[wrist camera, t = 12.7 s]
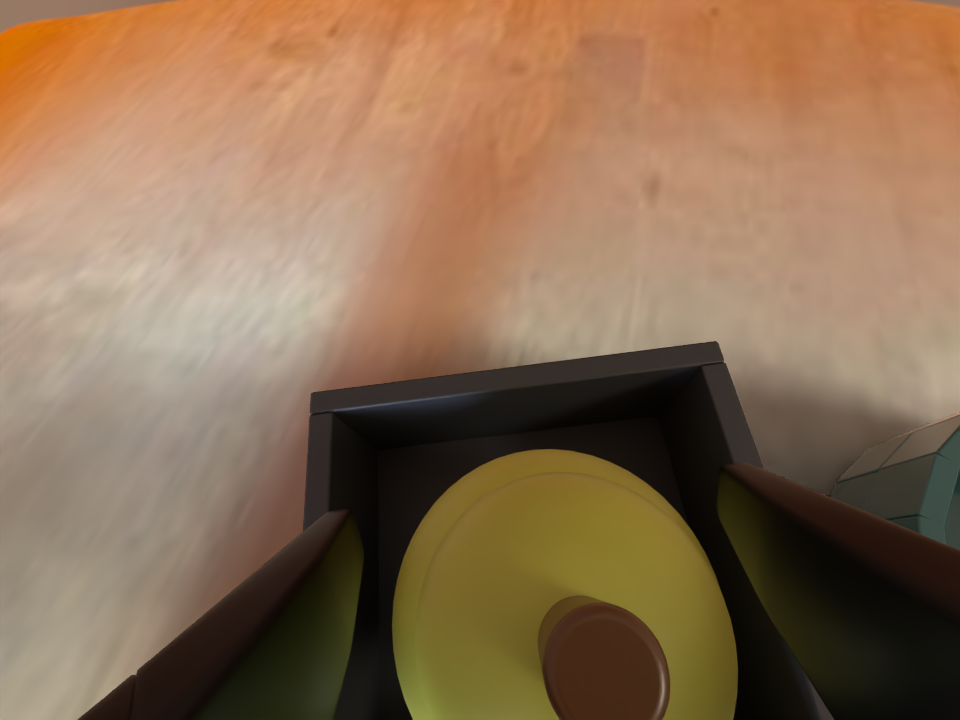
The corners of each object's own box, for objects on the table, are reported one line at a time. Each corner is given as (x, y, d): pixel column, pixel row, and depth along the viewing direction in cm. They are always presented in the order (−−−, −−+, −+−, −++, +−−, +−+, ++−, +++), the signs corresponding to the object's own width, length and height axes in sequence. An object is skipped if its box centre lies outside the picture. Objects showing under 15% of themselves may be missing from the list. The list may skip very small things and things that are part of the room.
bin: (780, 800, 11) (930, 931, 7) (364, 838, 12) (275, 984, 7) (666, 402, 16) (718, 339, 11) (365, 439, 16) (309, 391, 12)
